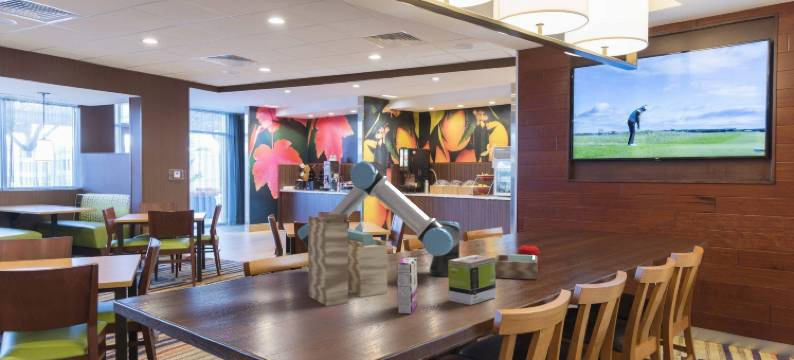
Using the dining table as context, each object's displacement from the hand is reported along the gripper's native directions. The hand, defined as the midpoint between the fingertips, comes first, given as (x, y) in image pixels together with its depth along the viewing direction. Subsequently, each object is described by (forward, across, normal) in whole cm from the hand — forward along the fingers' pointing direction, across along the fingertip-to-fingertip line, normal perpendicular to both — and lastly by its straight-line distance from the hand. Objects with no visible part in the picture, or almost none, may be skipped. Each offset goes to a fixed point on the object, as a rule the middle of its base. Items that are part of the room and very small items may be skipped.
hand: (347, 225), depth 217 cm
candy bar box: (+28, 0, -44) cm, 52 cm away
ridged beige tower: (-2, 0, -26) cm, 26 cm away
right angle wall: (+6, -74, -31) cm, 81 cm away
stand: (+5, +17, -30) cm, 35 cm away
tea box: (+28, -27, -44) cm, 59 cm away
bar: (+1, 0, -7) cm, 7 cm away
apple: (-4, -89, -26) cm, 93 cm away
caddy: (+6, -71, -31) cm, 78 cm away
